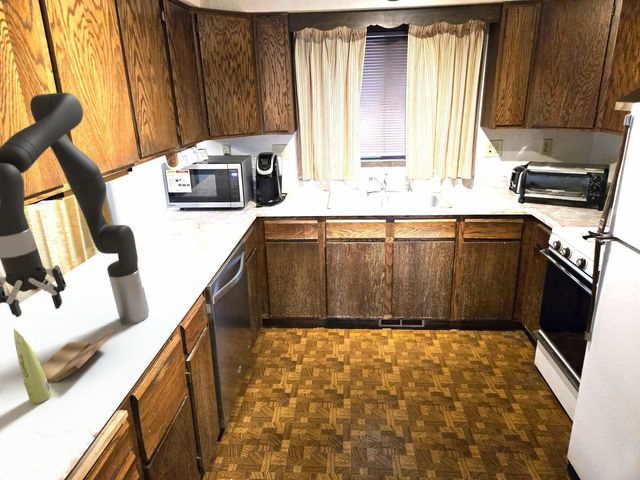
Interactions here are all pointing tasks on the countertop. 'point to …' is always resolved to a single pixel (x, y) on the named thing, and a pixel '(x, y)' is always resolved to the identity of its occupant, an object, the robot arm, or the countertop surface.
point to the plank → (83, 356)
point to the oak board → (62, 359)
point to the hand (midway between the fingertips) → (38, 311)
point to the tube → (31, 371)
